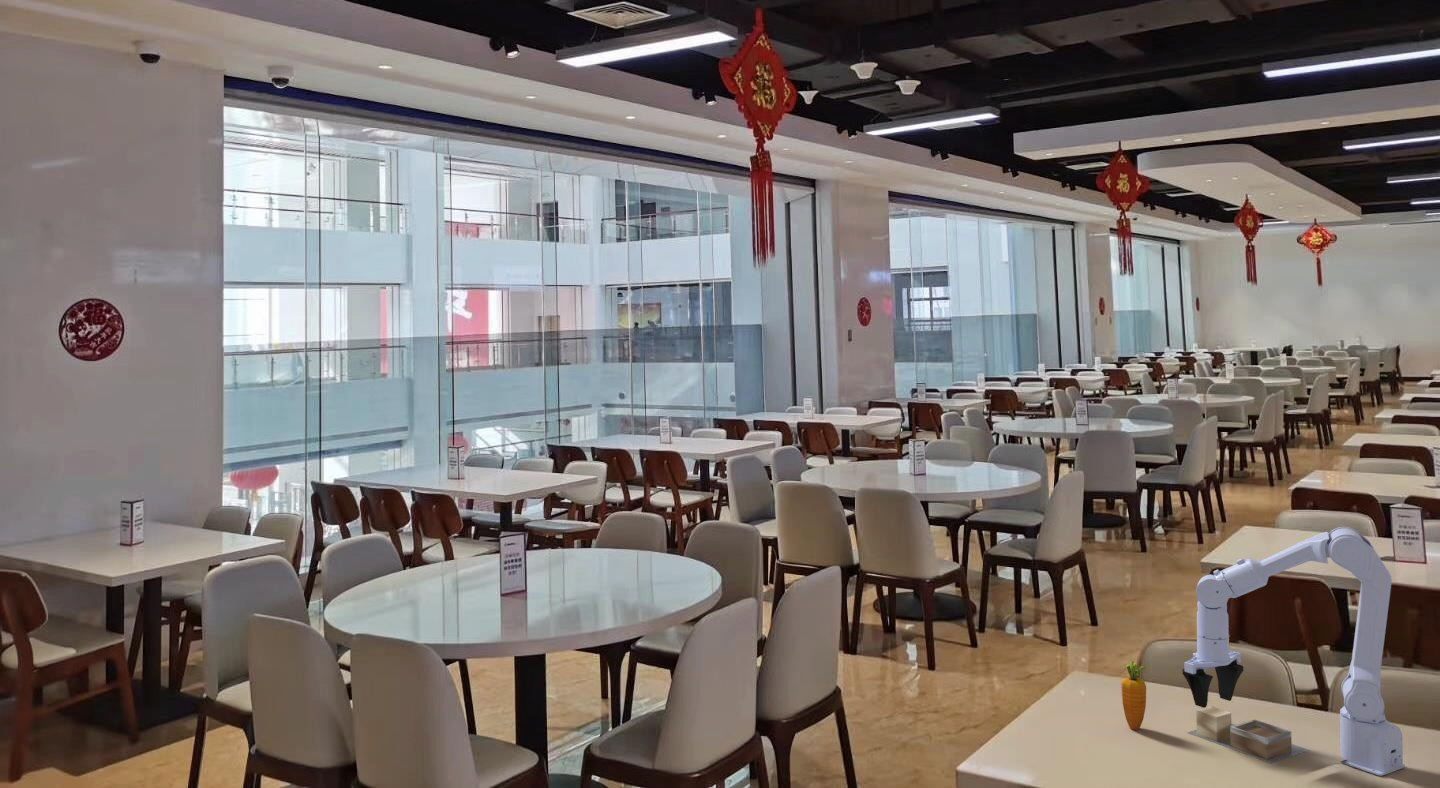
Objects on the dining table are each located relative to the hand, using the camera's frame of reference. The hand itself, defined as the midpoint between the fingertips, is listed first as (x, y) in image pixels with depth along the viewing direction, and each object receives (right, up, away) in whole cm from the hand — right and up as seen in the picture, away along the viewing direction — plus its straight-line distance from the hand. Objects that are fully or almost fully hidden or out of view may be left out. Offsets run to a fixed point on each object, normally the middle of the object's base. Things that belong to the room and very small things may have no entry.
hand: (1213, 702), depth 200 cm
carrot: (-14, -8, +5) cm, 17 cm away
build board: (+5, -8, -3) cm, 10 cm away
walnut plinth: (+6, -8, -7) cm, 12 cm away
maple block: (0, -7, 0) cm, 7 cm away
